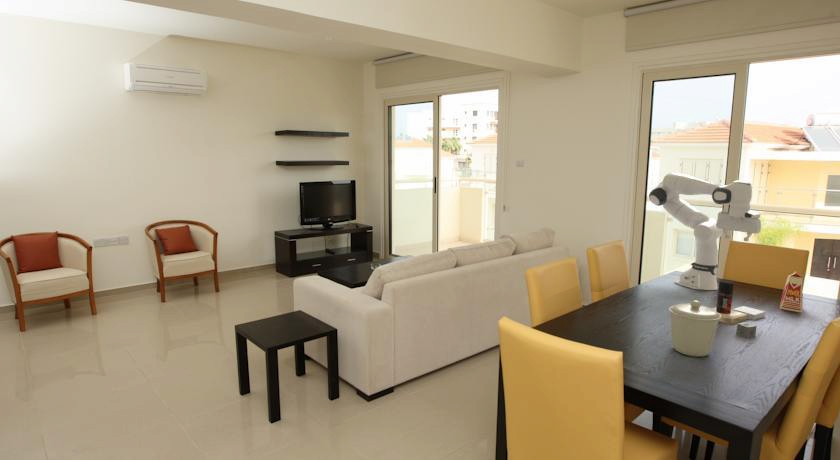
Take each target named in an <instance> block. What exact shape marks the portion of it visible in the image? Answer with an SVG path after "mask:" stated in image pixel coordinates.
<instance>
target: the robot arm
mask: <svg viewBox="0 0 840 460" xmlns="http://www.w3.org/2000/svg"><path fill="white" fill-rule="evenodd" d="M752 194H753V187H752V184H751V183H750V182H748V181H744V180H734V181H732V183H729V184H726V185H722V184H717V183H713V182H709V181H706V180H702V179H699V178H697V177H694V176H691V175H688V174H683V173H679V172H669V173H667V174H666V175H665V176H664V177H663V179H662V181H660V183H659V184H658V185H657V186H655V188H653V189H652V190H651V191H650V193H649V195H648V197H649V201H650V202H651V203H652V204H654V205H655V206H659V207H660V206H662V207H663V209H664V210H665V211H666V212H667V213H668V214H669V215H671V216H672V217H673V218H674V219H676V220H677V221H679V223H681V224H682V225H684V226H686V227H687V228H690V229H691V230H693V235H694V237H695V248H696V250H695V251H696V252H695V261H693V262H691V263H690V266H691V268H689V269H686V270H684V271H683V272H681V274H680V275H679V279H676V280H674V283H675V284H678V285H680V286H683V287H686V288H689V289H693V290H703V291H704V290H705V291H716V290H718V289H719V286H718V283H717V275H718V267H719V266H718V258H719V249H718V246H717V245H718V244H717V242H718V241H717V239H719V238H721V237H722V236H724V239H730V234H728V232H729V231H732V232H733V231H734V232H741V233H746V237H743V241H744V242H749V238H751V236H752V234H754V235H755V234H759V233H760V232H761V229H762V222H761V219H760V218H761V213H758V212H756V211H754V210H751V201H752ZM680 195H684V196H695V195H698V196H699V195H708V196H711V199H712V201H713V203H715V204H716V205H721V206H725V205H726V206H727V205H729V210H728V211H724V210H721V211H719V212H718V213H717V219H714V218H712V217H711V216H709V215H707V214H705V213H703V212H701V211H700V210H698V209H697V208H696V207H694V206H692V205H691V204H689V203H688V202H687V201H686V200H684V199H682V198H681V196H680ZM723 234H724V235H723Z"/></svg>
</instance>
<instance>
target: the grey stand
mask: <svg viewBox="0 0 840 460" xmlns="http://www.w3.org/2000/svg"><path fill="white" fill-rule="evenodd" d="M732 310H733V311H737V312H741V313H744V314H748V318H747V320H748V319H749V320H752V321H756V320H759V319H762V318H765V316H766V311H765V310H760V309H756V308H752V307H750V306H749V307H748V306H745V305H742V306H738V307H735V308H733V309H732Z"/></svg>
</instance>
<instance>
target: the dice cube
mask: <svg viewBox="0 0 840 460" xmlns="http://www.w3.org/2000/svg"><path fill="white" fill-rule="evenodd" d="M735 334H736V335H737V336H740V337H743V338H746V339H751V338H756V335H757V325H755V324H752V323H749V322H747V321H745V322H744V321H743V322H738V323H737V324H736V332H735Z"/></svg>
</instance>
